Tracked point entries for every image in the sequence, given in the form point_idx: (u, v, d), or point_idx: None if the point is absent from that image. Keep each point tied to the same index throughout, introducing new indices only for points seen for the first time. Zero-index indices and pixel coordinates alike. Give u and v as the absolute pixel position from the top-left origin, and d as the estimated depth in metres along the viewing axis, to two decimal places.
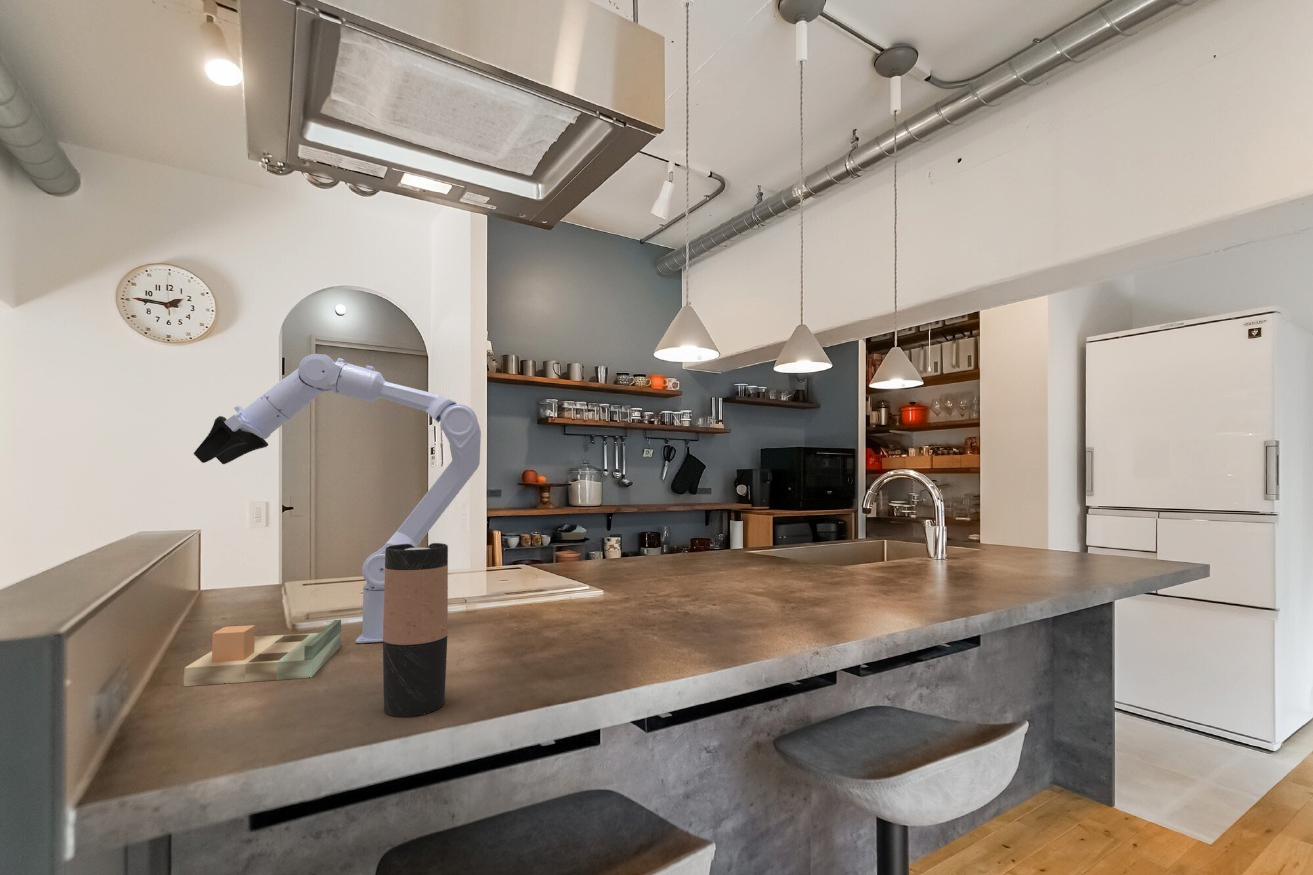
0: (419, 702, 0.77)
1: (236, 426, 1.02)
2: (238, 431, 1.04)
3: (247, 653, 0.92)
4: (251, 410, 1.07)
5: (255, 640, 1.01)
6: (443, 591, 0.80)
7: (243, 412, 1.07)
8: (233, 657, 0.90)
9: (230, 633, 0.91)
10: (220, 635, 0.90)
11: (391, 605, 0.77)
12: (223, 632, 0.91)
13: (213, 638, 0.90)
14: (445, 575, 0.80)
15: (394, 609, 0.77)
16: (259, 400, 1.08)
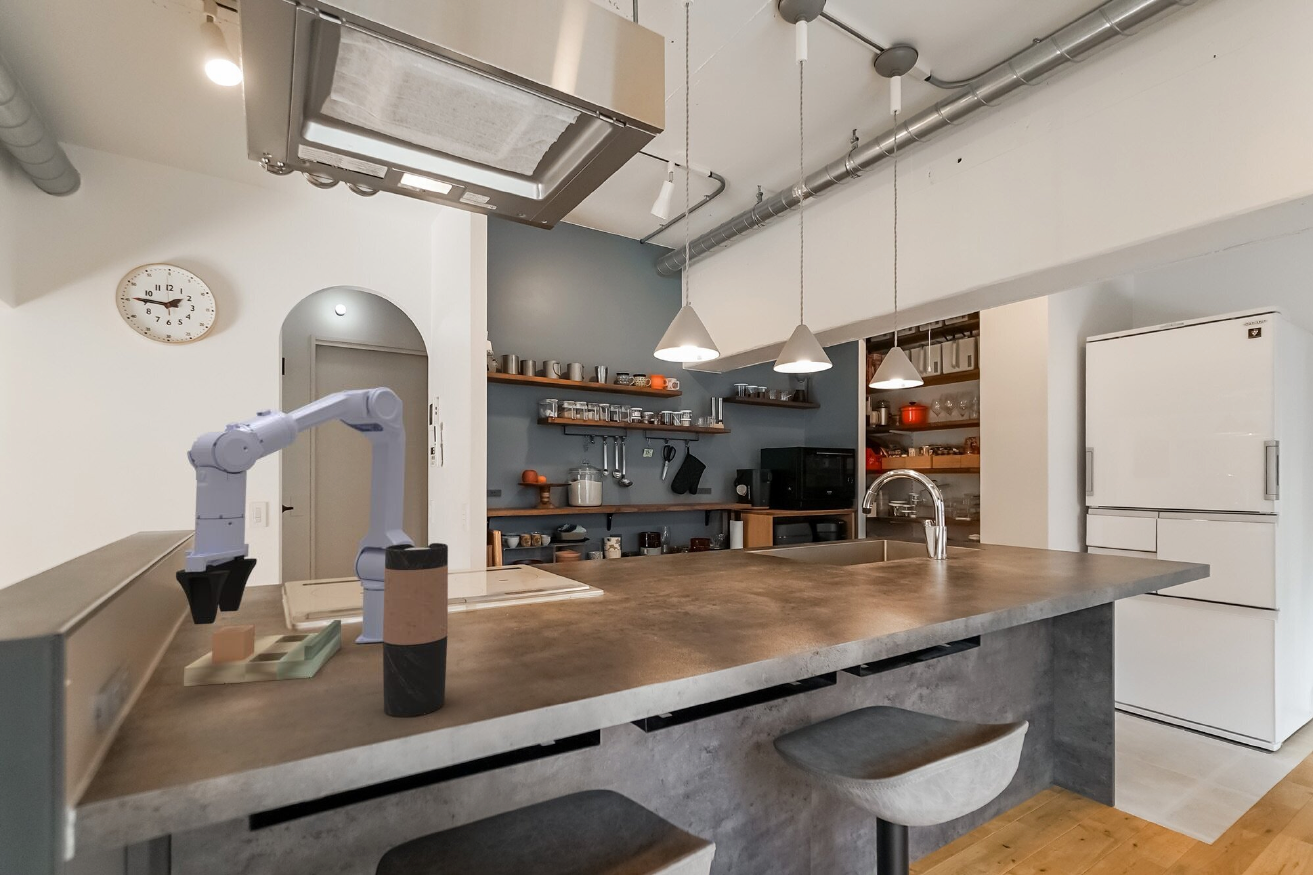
0: (419, 702, 0.77)
1: (200, 564, 0.81)
2: (209, 568, 0.83)
3: (247, 653, 0.92)
4: (200, 542, 0.85)
5: (255, 640, 1.01)
6: (443, 591, 0.80)
7: (196, 550, 0.85)
8: (233, 657, 0.90)
9: (230, 633, 0.91)
10: (220, 635, 0.90)
11: (391, 605, 0.77)
12: (223, 632, 0.91)
13: (213, 638, 0.90)
14: (445, 575, 0.80)
15: (394, 609, 0.77)
16: (197, 526, 0.85)
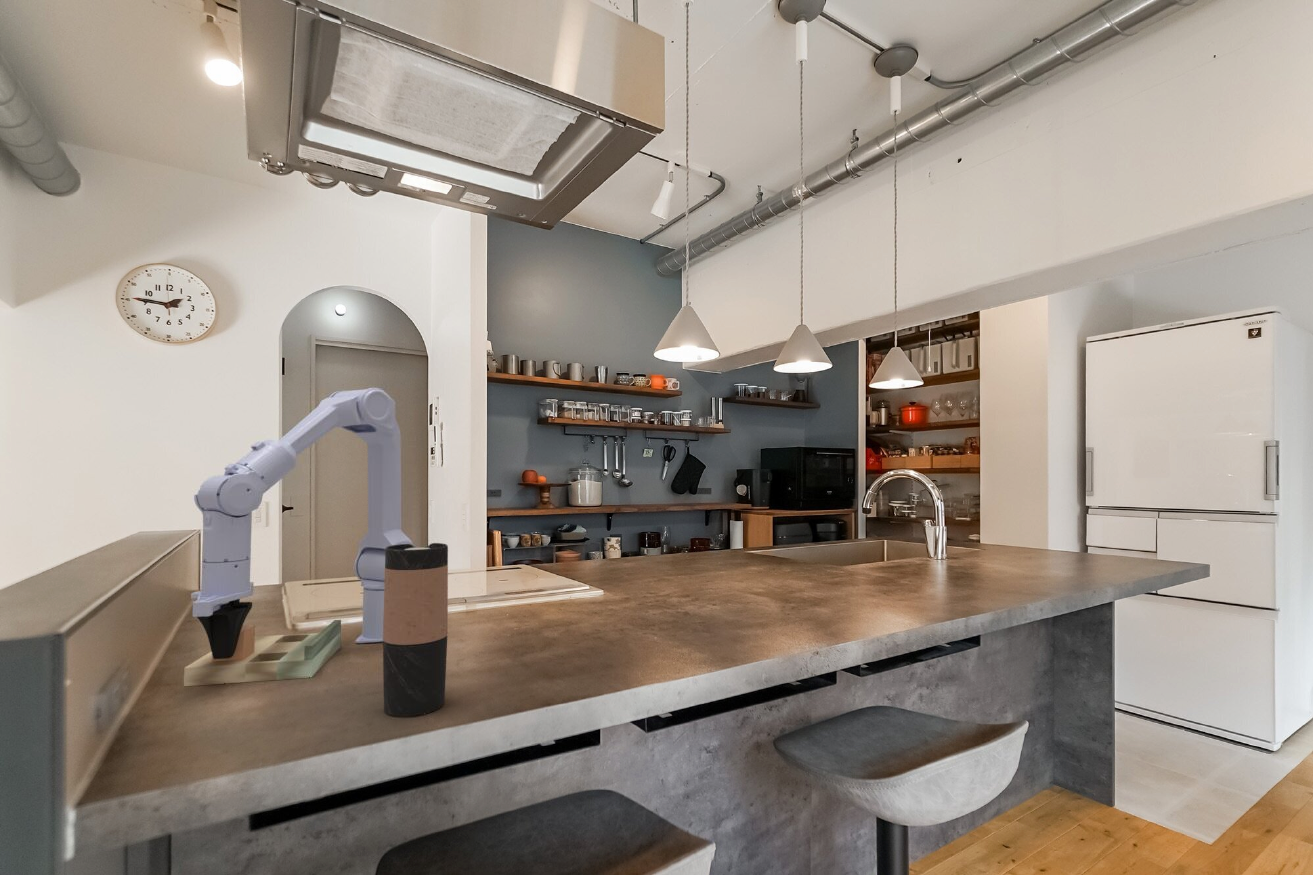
0: (419, 702, 0.77)
1: (207, 609, 0.83)
2: (227, 606, 0.88)
3: (247, 653, 0.92)
4: (207, 585, 0.87)
5: (255, 640, 1.01)
6: (443, 591, 0.80)
7: (203, 593, 0.87)
8: (233, 657, 0.91)
9: None
10: None
11: (391, 605, 0.77)
12: None
13: None
14: (445, 575, 0.80)
15: (394, 609, 0.77)
16: (204, 570, 0.87)
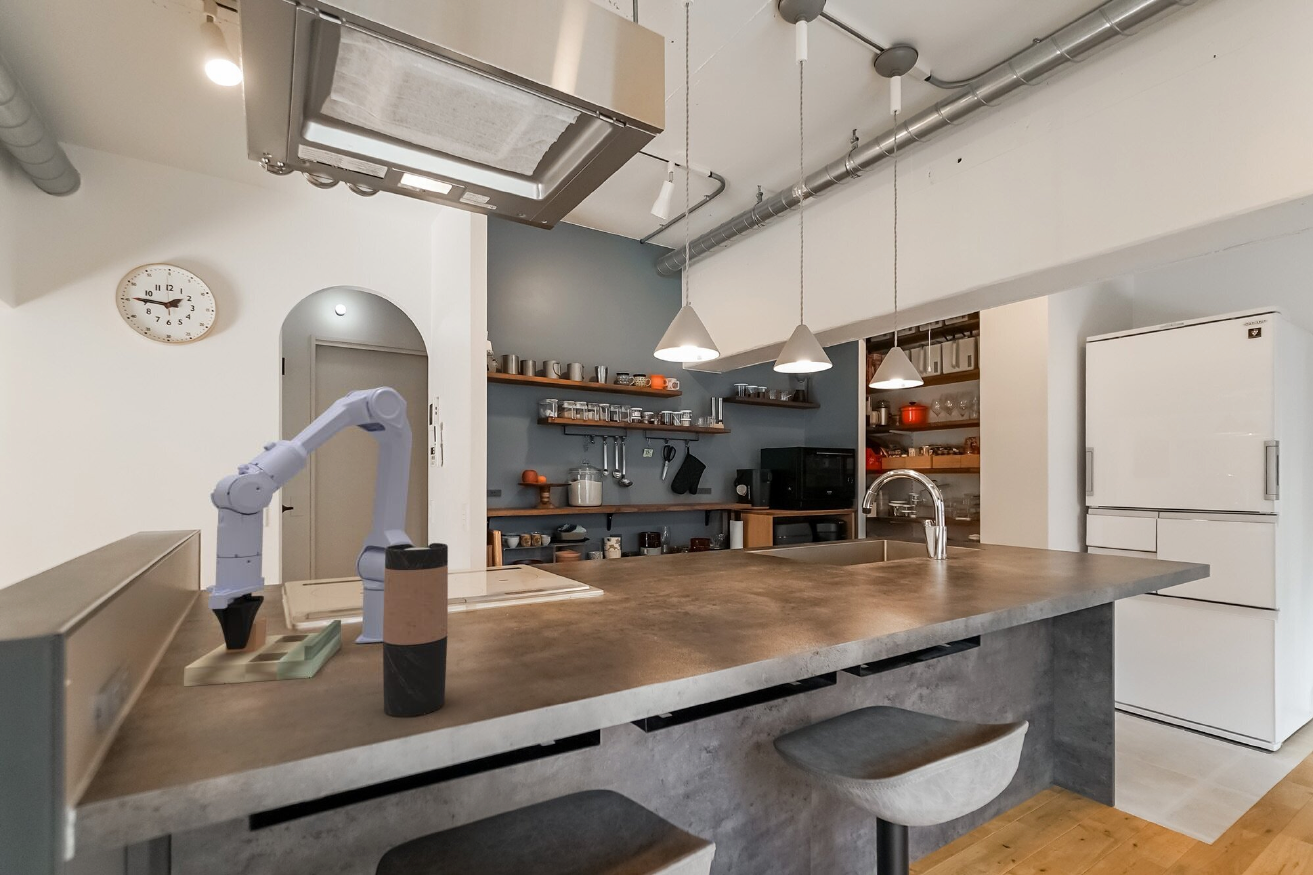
0: (419, 702, 0.77)
1: (222, 602, 0.87)
2: (241, 599, 0.93)
3: (259, 644, 0.97)
4: (221, 579, 0.91)
5: None
6: (443, 591, 0.80)
7: (217, 587, 0.92)
8: (245, 648, 0.95)
9: None
10: None
11: (391, 605, 0.77)
12: None
13: None
14: (445, 575, 0.80)
15: (394, 609, 0.77)
16: (218, 565, 0.92)
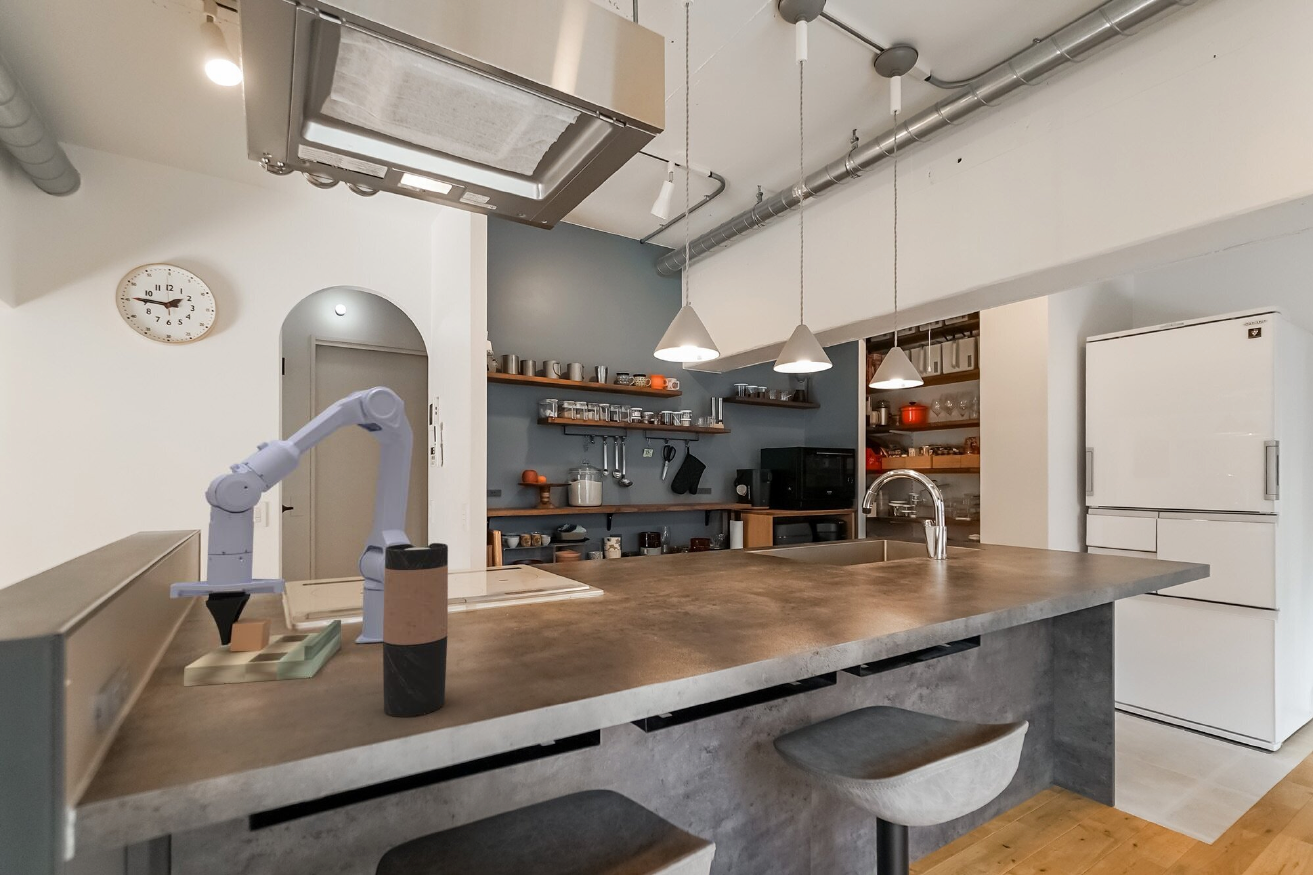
0: (419, 702, 0.77)
1: None
2: (217, 595, 0.95)
3: (263, 644, 0.97)
4: None
5: None
6: (443, 591, 0.80)
7: None
8: (250, 648, 0.95)
9: (249, 624, 0.95)
10: (240, 626, 0.95)
11: (391, 605, 0.77)
12: (242, 623, 0.95)
13: (233, 628, 0.95)
14: (445, 575, 0.80)
15: (394, 609, 0.77)
16: None
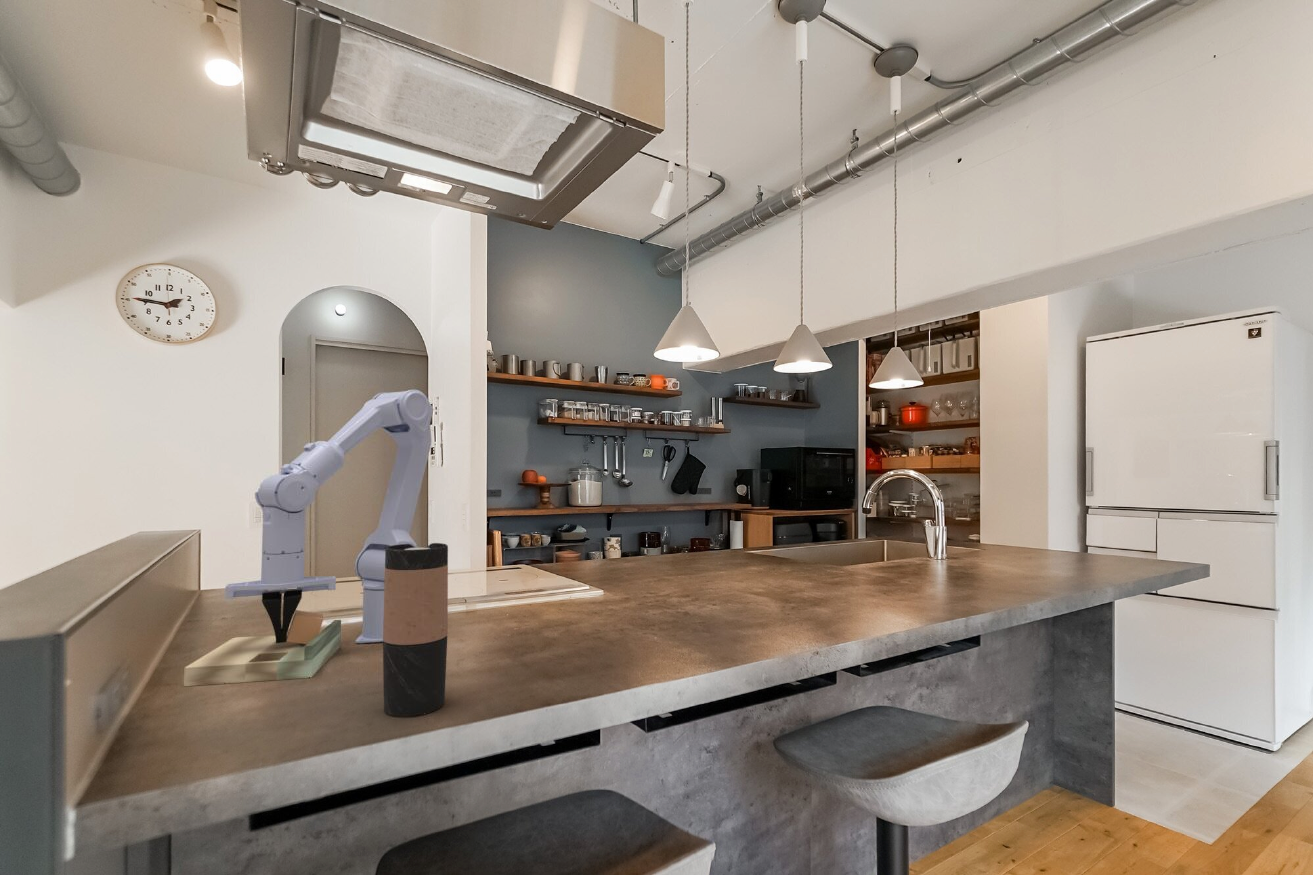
0: (419, 702, 0.77)
1: (225, 592, 0.94)
2: (271, 594, 0.96)
3: None
4: None
5: (255, 640, 1.01)
6: (443, 591, 0.80)
7: None
8: (306, 641, 0.98)
9: (310, 618, 0.98)
10: (301, 618, 0.98)
11: (391, 605, 0.77)
12: (303, 615, 0.98)
13: (294, 619, 0.97)
14: (445, 575, 0.80)
15: (394, 609, 0.77)
16: None
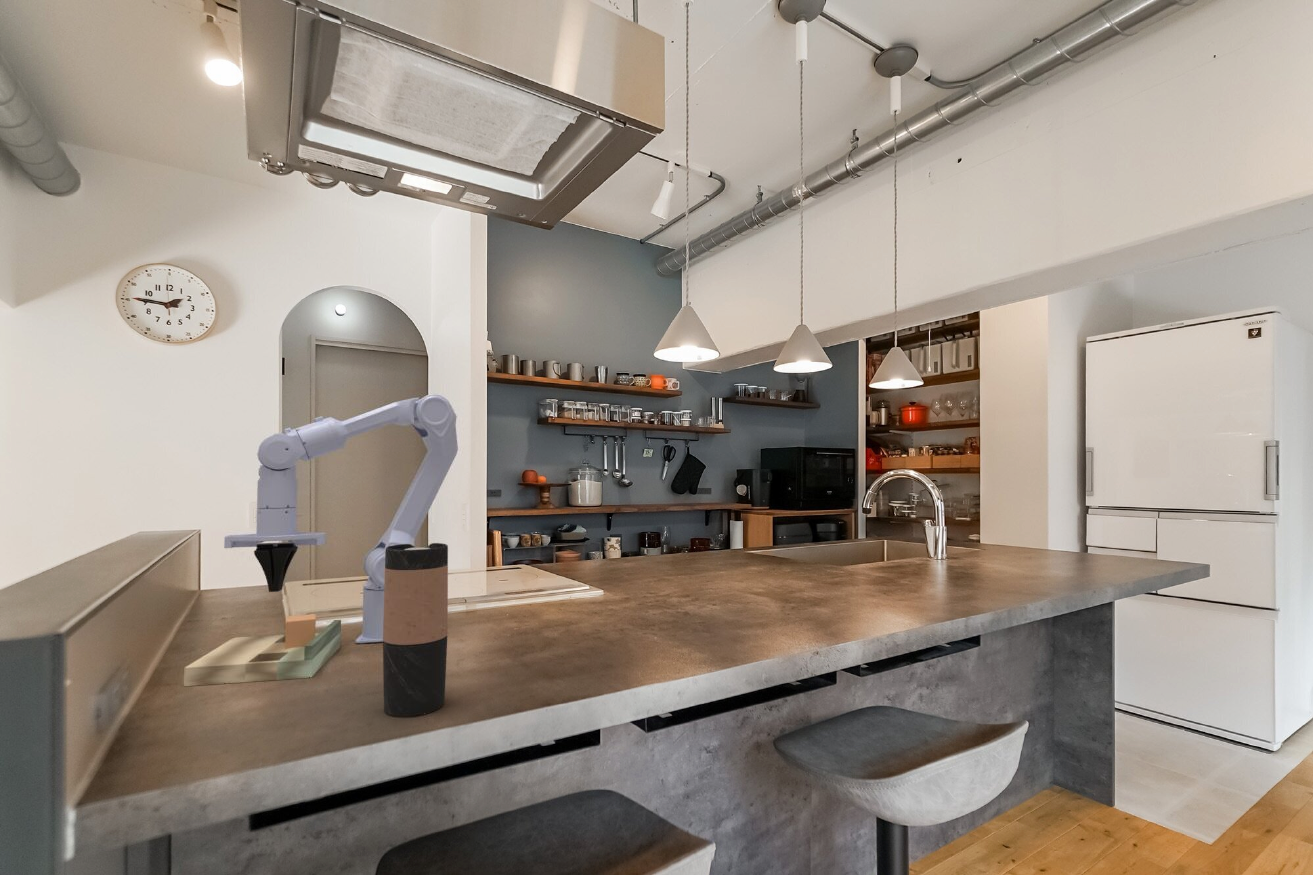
0: (419, 702, 0.77)
1: None
2: (264, 546, 1.03)
3: None
4: None
5: (255, 640, 1.01)
6: (443, 591, 0.80)
7: None
8: (305, 643, 0.98)
9: (302, 621, 0.98)
10: (293, 623, 0.97)
11: (391, 605, 0.77)
12: (295, 620, 0.98)
13: (286, 626, 0.97)
14: (445, 575, 0.80)
15: (394, 609, 0.77)
16: None
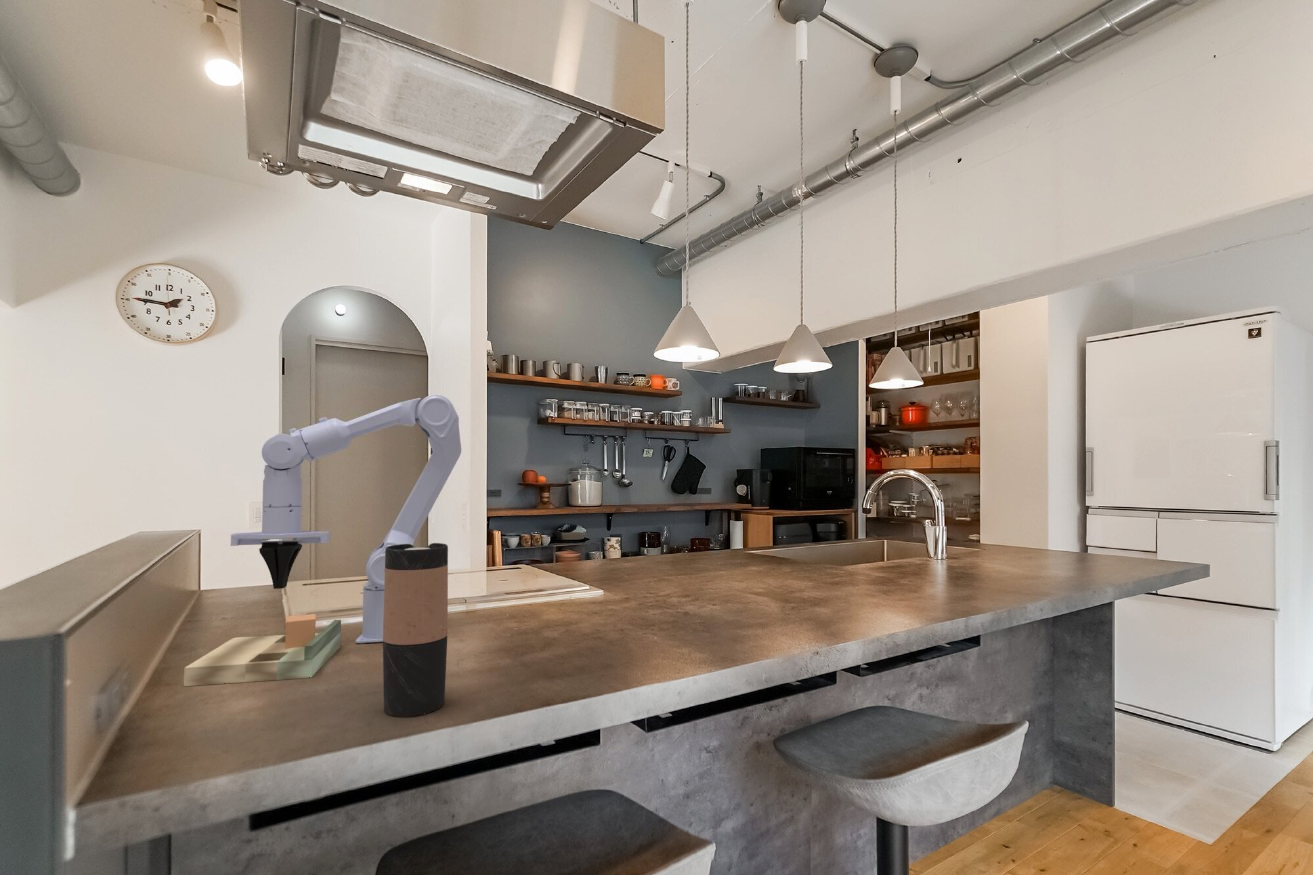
0: (419, 702, 0.77)
1: (231, 540, 1.05)
2: (269, 544, 1.06)
3: None
4: None
5: (255, 640, 1.01)
6: (443, 591, 0.80)
7: None
8: (305, 643, 0.98)
9: (302, 621, 0.98)
10: (293, 623, 0.97)
11: (391, 605, 0.77)
12: (295, 620, 0.98)
13: (286, 626, 0.97)
14: (445, 575, 0.80)
15: (394, 609, 0.77)
16: None
